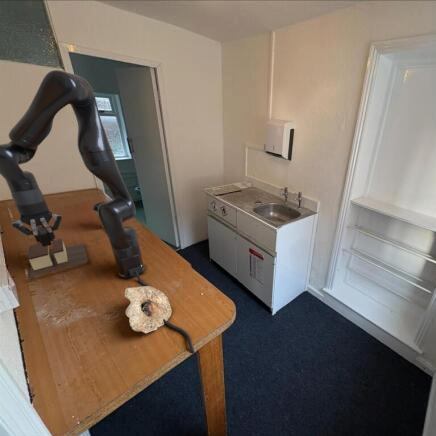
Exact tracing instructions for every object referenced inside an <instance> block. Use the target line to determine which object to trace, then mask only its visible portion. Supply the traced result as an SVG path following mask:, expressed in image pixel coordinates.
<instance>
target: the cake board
mask: <svg viewBox="0 0 436 436" xmlns="http://www.w3.org/2000/svg"><path fill="white" fill-rule="evenodd" d="M65 248H66V253H67V260H68V261H67V262H63V263H59V264H58V263H57V261H56V258H55V256H54V254H53V249H50V250H51V252H52V262H53V265H52V266H48V267H44V268H41V269H37V270H34V269H33V267H32V265H31V264H30V272H29V273H30V275H29V278H34V277H37V276H41V275H45V274H49V273H51V272H55V271H58V270H62V269H67V268H70V267H73V266H76V265H80V264H85V263H87V262H89V258H88V255H87V250H86V248H85V243H84V242H80V243H76V244H72V245H68V246H65Z"/></svg>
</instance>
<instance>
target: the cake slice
mask: <svg viewBox="0 0 436 436" xmlns="http://www.w3.org/2000/svg"><path fill="white" fill-rule="evenodd" d="M51 246H52V250H53V254H54V256H55V258H56V261H57V263H58V264H59V263H63V262H67V261H68V260H67V253H66V248H65V247H66V245H65V243H64V241H63V239H62V238H59V239H53V241H51Z"/></svg>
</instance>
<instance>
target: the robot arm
mask: <svg viewBox="0 0 436 436" xmlns="http://www.w3.org/2000/svg"><path fill="white" fill-rule="evenodd" d="M68 105H70V106H71V109H72V110H73V114H74V115H75V117H76V122H77V139H76V141H77V142H76V145H77V150H78V153H79V155H80V158H81V160H82V162H83V165H84V167H85V168H86V169H87V171H89V173H91V174H92V175H93V176H95V177H96V178H97V179H99V180H100V181H101V182H102V183H103V184H104V185H106V187H107V188H108V189H109V191H110V193H111V195H112V198H113V199H111V200H108V201H104V202H105V203H102V204H100V205H99V207H98V214H99V217H100V220H101V223H102V225H103V227H102V228H104V229H103V231H104V233H105V234H106V236H107V237H108V240H109V243H110V247H111V251H112V254H113V257H114V260H115V264H116V268H117V271H118V275H119V277H120V278H124V279H126V280H129V279H131V278H134V277H136V278H137V280H138V282H139V284H140V285H141V286H149V285H147V284H146V283H144V282H143V280H142V278H141V276H140V275H143V274H144V271H145V270H146V267H145V263H144V260H143V255H142V252H141V248H140V244H139V239H138V235H137V230H136V229H135V228H134V227H133V226H127V225H126V226H124V225H123V223H125V222H127V221H129V220H131V219H133V218H135V216H136V214H137V208H136V206H135V203H134V200H133V198H132V196H131V194H130V192H129V190H128V188H127V186H126V184H125V181H124V179H123V177H122V174H121V172H120V169H119V166H118V164H117V161H116V157H115V154H114V152H113V151H114V150H113V148H112V147H111V143H110V142H109V139H108V135H107V133H106V130H105V128H104V125H103V123H102V118H101V115H100V111H99V106H98V103H97V99H96V96H95V91H94V89H93V87H92V85H90V82H88V80H86V78H84V77H82V76H80V75H78V74H75V73H72V72H67V71H64V70H59V69H55V70H50V71H49V72H47V73H46V74H45V76H44V77H43V78H42V80H41V82H40V85H39V87H38V89H37V91H36V93H35V95H34V97H33V98H32V101H31V102H30V104H29V106H28V108H27V110H26V111H25V113H24V114H23V115H22V117H21V118H20V119H19V120H18V121H17V122H16V124H15V125H14V126H13V127H12V128H11V130H10V131H8V139H9V140H10V141H9V142H8V143H1V144H0V175H1V177H2V178H3V179H4V180H5V182H6V184H7V187H8V189H9V191H10V195H11V198H12V200H13V202H14V205H15V207H16V209H17V212H18V213H19V216H20V218H19V219H17V220H15V221H13V222H12V225H11V226H12V227H13V228H14V229H17V230H18V231H20V232H21V233H23V234H24V235H26V236H34V238H35V240H36V242H37V243H41V242H40V239H39V237H38V226H42V225H44V227H45V228H46V229H47V231H48V235H49V237H50V239H51V242H52V241H53V240H56V236H55V233H54V231H57V230H59V228H60V224H61V221H62V219H63V217H62V214H60V213H58V214H55V213H53V212H52V211H50V209H49V207H48V204H47V201H46V199H45V195H44V194H43V192H42V190H41V189H40V186H39V184H38V182H37V179H36V177H35V175H34V173H32V172H31V171H27V170H23V169H22V168H21V167H20V165H23V164H27V163H28V162H30V161H31V160H33V158H34V156H36V153H37V150H38V148H39V146H40V145H41V144H42V143H43V142H44V141H45V140H46V139H47V137H48V136H49V135H50V133H51V132H52V129H53V125H54V120H55V117H56V115H57V114H58V113H59V112H60V111H61V110H62V109H64V108H66V106H68ZM52 218H53V220H54V223H53V225H52V226H51V224H50V221H51V219H52ZM101 223H100V224H101ZM24 224H25V225H28V226H30V227H31V229H29V228H27V227H26V226H24ZM102 225H101V226H102ZM163 322H164V325H166V326H168V327H169V328H171V329H173V330H176V331H178V332H179V333H181V334H182V335H183V336H184V337H185V338H186V340H187V343H188V347H189V350H190V353H191V354H192V355H194V354H195V349H194V346H193V343H192V339H191V336H190V335H189V334H188V332H187V331H186V330H184V329H183V328H181V327H179V326H177V325H174V324H173V323H171V322H169V321H168V320H167V321H166V320H165V319H163ZM195 369H196V373H197V378H198V382H199V383H198V384H199V389H200V390H199V391H200V396H201V402H202V409H203V411H205V410H206V409H207V406H206V397H205V389H204V385H203V384H204V383H203V378H202V373H201V370H200V369H201V368H200V365H197V366H195Z"/></svg>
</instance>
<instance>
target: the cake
mask: <svg viewBox="0 0 436 436" xmlns="http://www.w3.org/2000/svg"><path fill="white" fill-rule="evenodd" d="M51 250H52V249H51V247H50V245H49V246H44V247H43V246H42V244H41V243H40V242H38V243H35V244H30V245H28V254H27V255H28V256H27V259H28V261H29V264H30V266H31V265H32V267H33V269H34V270H37V269H41V268H44V267H48V266H52V265H53V262H52V252H51Z"/></svg>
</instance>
